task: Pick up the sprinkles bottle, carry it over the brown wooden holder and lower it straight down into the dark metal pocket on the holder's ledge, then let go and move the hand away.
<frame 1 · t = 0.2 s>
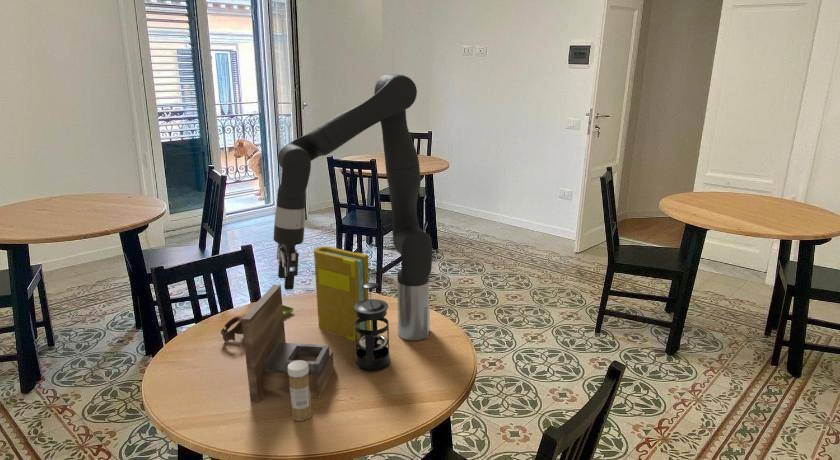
hand: (285, 283, 141), 23 cm above the table, tool pointing down, fingers open, 8 cm apart
french press: (372, 364, 146), on the table
pottery mug: (243, 339, 159), on the table
book: (342, 330, 164), on the table
sprinkles bottle: (301, 416, 124), on the table
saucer: (275, 316, 174), on the table
brown wooden holder: (296, 380, 138), on the table
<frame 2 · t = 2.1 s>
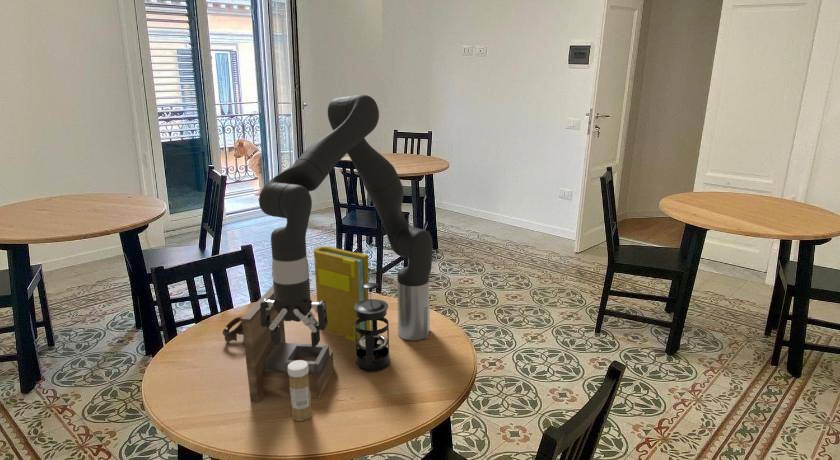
hand: (296, 344, 119), 18 cm above the table, tool pointing down, fingers open, 8 cm apart
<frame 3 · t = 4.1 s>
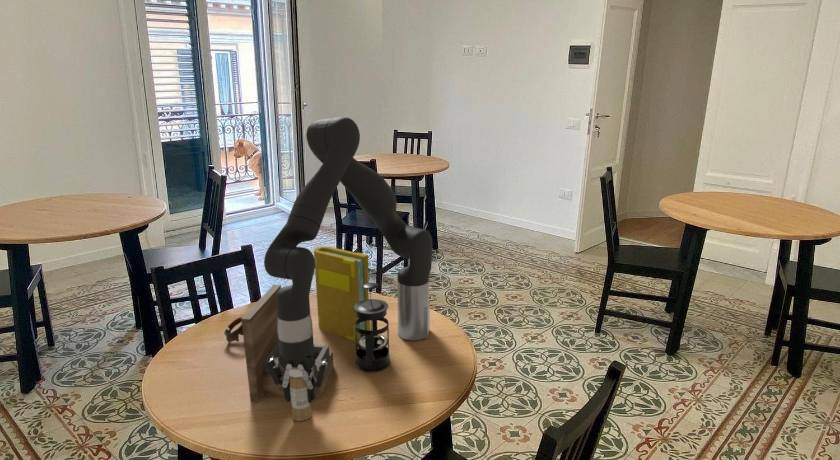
hand: (300, 399, 123), 4 cm above the table, tool pointing down, fingers closed on sprinkles bottle, 4 cm apart
sprinkles bottle: (301, 416, 124), on the table, touching gripper
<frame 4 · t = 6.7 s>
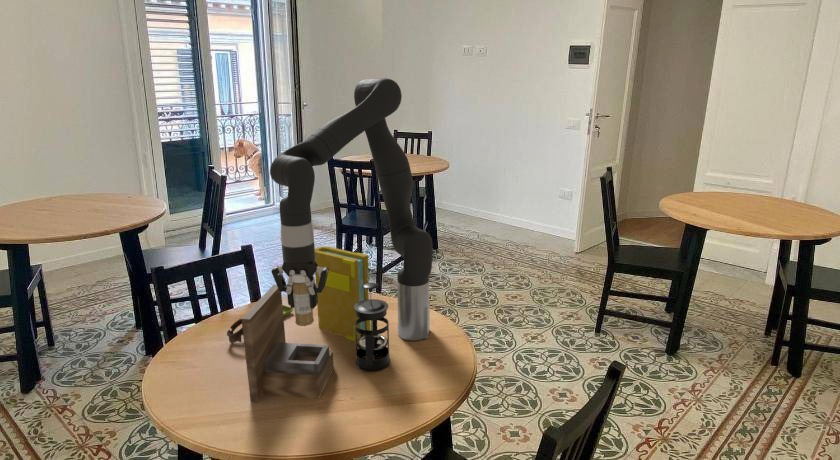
hand: (303, 306, 132), 21 cm above the table, tool pointing down, fingers closed on sprinkles bottle, 4 cm apart
sprinkles bottle: (304, 323, 133), point 16 cm above the table, touching gripper
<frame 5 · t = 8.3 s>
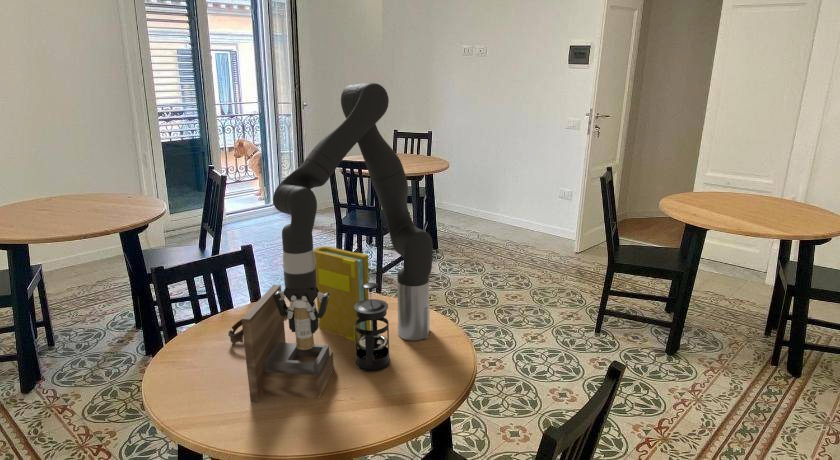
hand: (304, 330, 134), 14 cm above the table, tool pointing down, fingers closed on sprinkles bottle, 4 cm apart
sprinkles bottle: (305, 347, 135), point 10 cm above the table, touching gripper
when the fingers open (11 cm above the table, at t = 9.6 s): sprinkles bottle drops 1 cm, resting on brown wooden holder.
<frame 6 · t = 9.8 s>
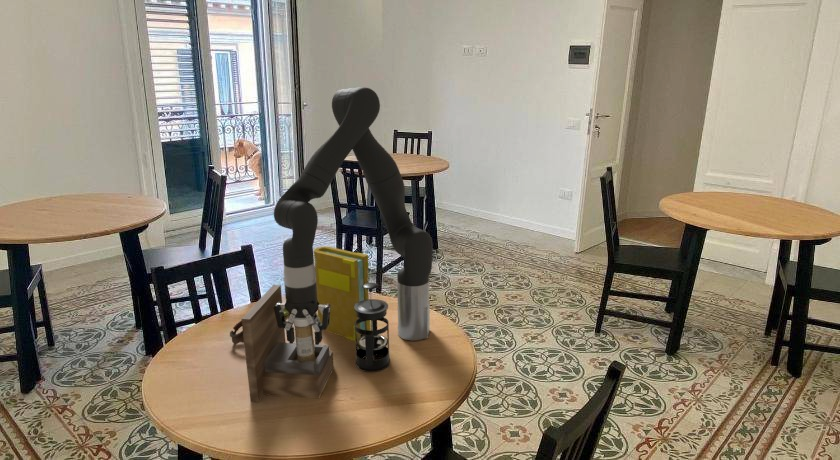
hand: (304, 342, 135), 11 cm above the table, tool pointing down, fingers open, 6 cm apart
sprinkles bottle: (306, 364, 136), point 5 cm above the table, touching brown wooden holder
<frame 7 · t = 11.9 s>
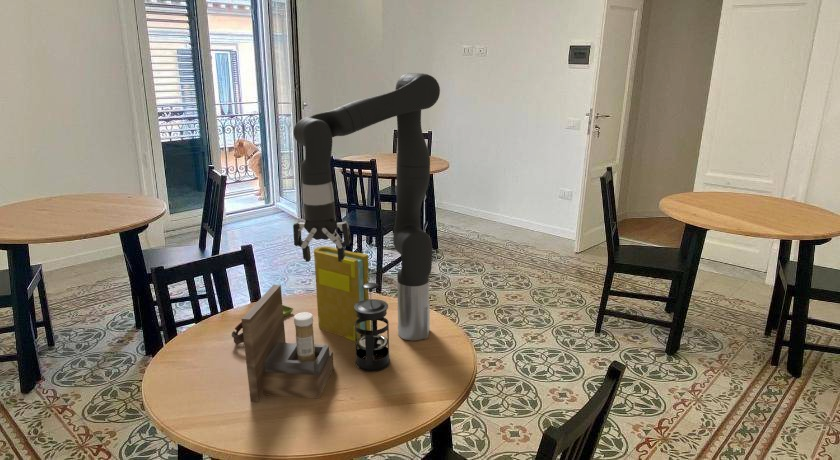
hand: (324, 260, 139), 29 cm above the table, tool pointing down, fingers open, 8 cm apart
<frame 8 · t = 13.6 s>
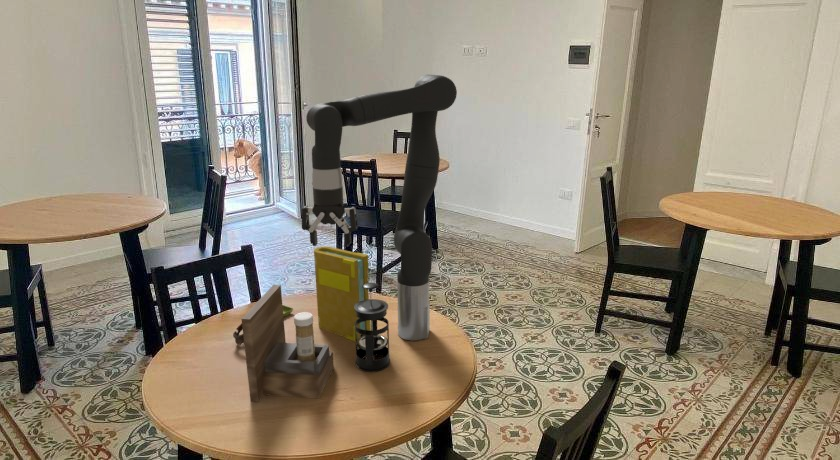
hand: (330, 245, 141), 32 cm above the table, tool pointing down, fingers open, 8 cm apart
at the end: sprinkles bottle 0.1 cm from the target spot on the brown wooden holder, point 4.8 cm above the brown wooden holder's base; sprinkles bottle tilted 0°; the gripper is holding nothing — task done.
